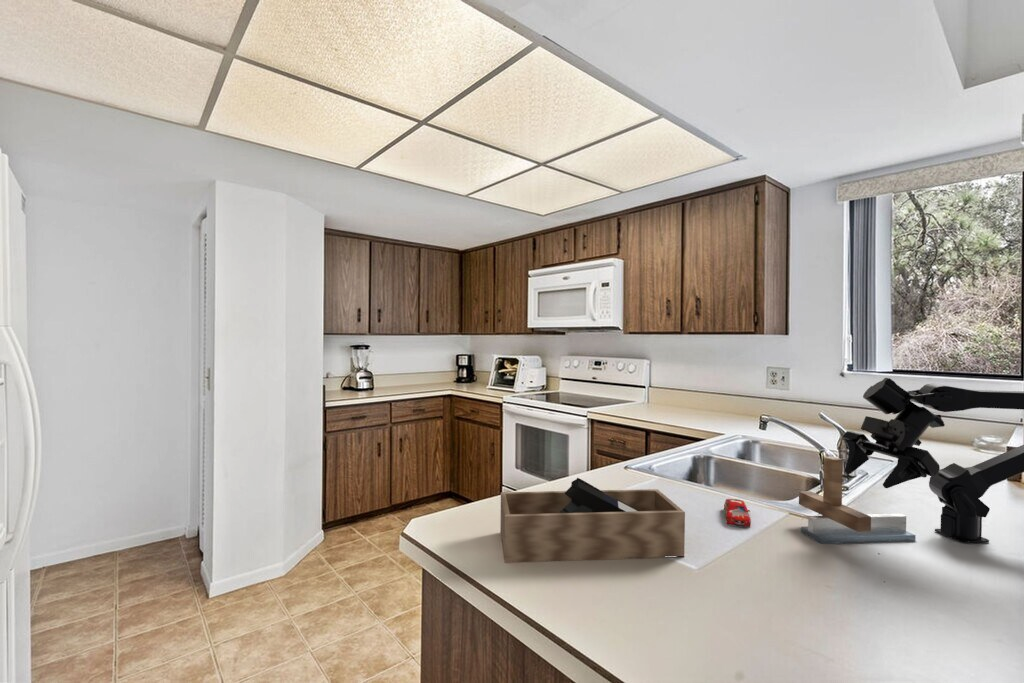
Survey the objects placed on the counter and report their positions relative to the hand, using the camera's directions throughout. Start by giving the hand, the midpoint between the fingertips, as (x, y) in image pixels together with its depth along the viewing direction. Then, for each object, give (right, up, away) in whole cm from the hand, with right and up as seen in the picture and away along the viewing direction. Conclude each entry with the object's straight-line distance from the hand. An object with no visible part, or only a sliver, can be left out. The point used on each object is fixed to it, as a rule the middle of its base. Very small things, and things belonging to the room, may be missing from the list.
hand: (864, 479), depth 106 cm
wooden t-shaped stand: (-8, -8, -1) cm, 11 cm away
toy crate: (-63, -12, -6) cm, 64 cm away
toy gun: (-59, -12, -4) cm, 61 cm away
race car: (-24, -12, +9) cm, 29 cm away
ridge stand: (-2, -12, -1) cm, 13 cm away
